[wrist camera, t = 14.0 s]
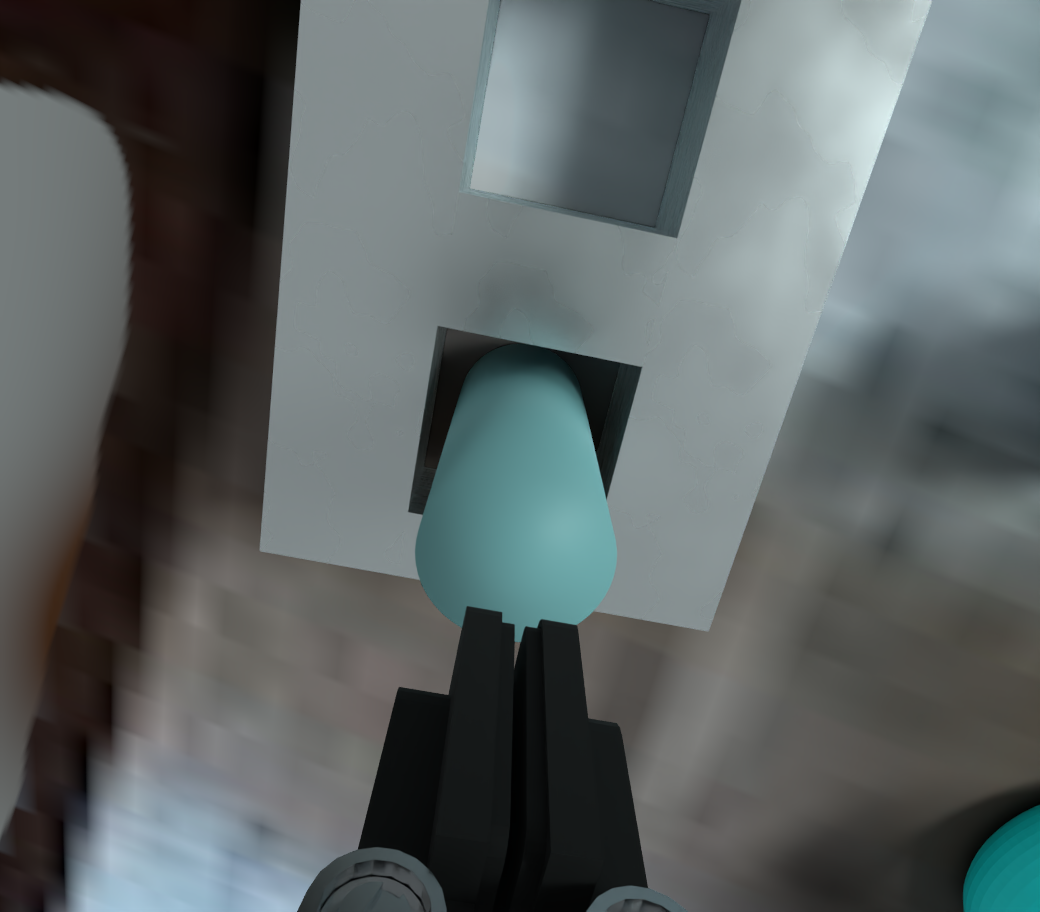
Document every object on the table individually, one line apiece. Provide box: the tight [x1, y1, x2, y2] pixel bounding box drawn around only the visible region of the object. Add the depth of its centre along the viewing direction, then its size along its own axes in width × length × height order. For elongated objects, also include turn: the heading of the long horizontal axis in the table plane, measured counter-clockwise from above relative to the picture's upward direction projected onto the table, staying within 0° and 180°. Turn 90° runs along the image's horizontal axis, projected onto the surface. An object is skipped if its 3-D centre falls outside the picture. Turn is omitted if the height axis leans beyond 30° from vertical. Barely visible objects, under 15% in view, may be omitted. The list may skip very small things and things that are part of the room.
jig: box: [260, 0, 932, 631], centre depth 20 cm, size 19×14×4 cm
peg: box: [415, 344, 617, 642], centre depth 19 cm, size 4×4×10 cm
